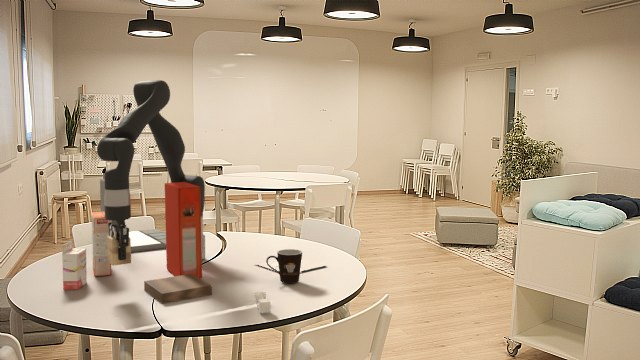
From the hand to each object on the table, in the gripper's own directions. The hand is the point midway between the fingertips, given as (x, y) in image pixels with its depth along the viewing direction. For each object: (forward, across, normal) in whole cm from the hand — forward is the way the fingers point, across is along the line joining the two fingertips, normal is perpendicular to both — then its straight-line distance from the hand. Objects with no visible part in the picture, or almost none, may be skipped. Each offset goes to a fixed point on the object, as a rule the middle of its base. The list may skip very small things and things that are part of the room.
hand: (119, 257), depth 171 cm
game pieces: (+13, -33, -32) cm, 47 cm away
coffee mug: (+12, -14, -52) cm, 55 cm away
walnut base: (+12, -7, -16) cm, 21 cm away
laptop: (+13, +72, -30) cm, 79 cm away
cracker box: (+12, +32, -3) cm, 34 cm away
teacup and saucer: (+13, +3, -65) cm, 66 cm away
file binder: (+12, +13, -26) cm, 31 cm away
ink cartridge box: (+12, +18, +9) cm, 24 cm away
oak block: (+2, 0, 0) cm, 2 cm away
